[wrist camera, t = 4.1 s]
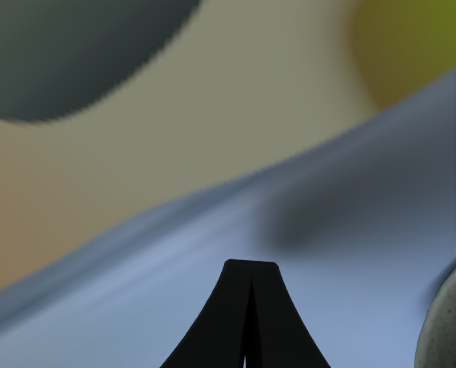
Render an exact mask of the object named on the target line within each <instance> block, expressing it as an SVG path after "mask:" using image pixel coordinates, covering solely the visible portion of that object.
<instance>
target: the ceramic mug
mask: <svg viewBox="0 0 456 368" xmlns="http://www.w3.org/2000/svg"><path fill="white" fill-rule="evenodd" d="M414 368H456V269H455V270H454V271H453V272H452V273H451V275H450V276H449V277H448V278H447V279H446V280H445V281H444V283H443V284H442V286H441V288H440V289H439V291H438V293H437V295H436V296H435V298H434V300H433V302H432V303H431V305H430V307H429V309H428V311H427V314H426V317H425V320H424V323H423V326H422V329H421V332H420V335H419V338H418V343H417V348H416V353H415V361H414Z"/></svg>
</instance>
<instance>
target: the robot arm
mask: <svg viewBox="0 0 456 368" xmlns="http://www.w3.org/2000/svg"><path fill="white" fill-rule="evenodd" d="M244 359H246V368H331V367H330V366H329V364H328V363H327V361H326V360H325V358H324V357H323V355H322V353H321V352H320V350H319V349H318V347H317V345H316V344H315V342H314V340H313V339H312V337H311V336H310V334H309V332H308V330H307V329H306V327H305V325H304V323H303V321H302V319H301V317H300V316H299V314H298V312H297V310H296V308H295V306H294V304H293V302H292V300H291V298H290V295H289V293H288V291H287V289H286V286H285V284H284V281H283V279H282V276H281V273H280V270H279V267H278V265H277V264H276V263H275V262H263V261H250V260H237V259H228V260H227V261H226V262H225V263H224V267H223V270H222V272H221V275H220V277H219V279H218V282H217V284H216V286H215V288H214V290H213V292H212V293H211V295H210V297H209V299H208V300H207V302H206V304H205V305H204V307H203V309H202V311H201V312H200V314H199V315H198V317H197V318H196V320H195V321H194V323H193V324H192V326H191V327H190V329H189V330H188V332H187V333H186V335H185V336H184V337H183V339H182V340H181V342H180V343H179V344H178V346H177V347H176V348H175V349H174V351H173V352H172V353H171V355H170V356H169V357H168V358H167V359H166V361H165V362H164V363H163V364H162V366H161V367H160V368H243V366H244Z"/></svg>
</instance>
